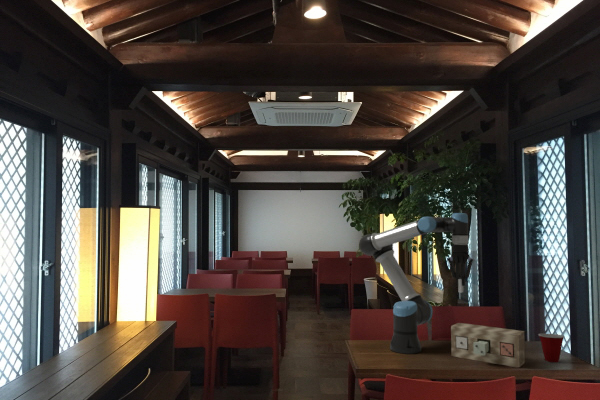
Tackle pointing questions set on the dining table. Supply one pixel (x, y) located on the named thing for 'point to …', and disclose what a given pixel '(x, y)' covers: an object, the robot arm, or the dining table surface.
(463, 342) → the button
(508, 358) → the console
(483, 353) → the button
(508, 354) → the button
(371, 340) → the dining table surface
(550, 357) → the plastic cup
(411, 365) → the dining table surface
